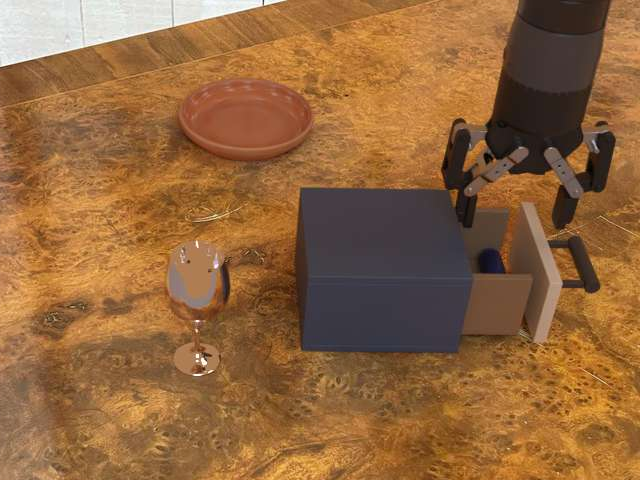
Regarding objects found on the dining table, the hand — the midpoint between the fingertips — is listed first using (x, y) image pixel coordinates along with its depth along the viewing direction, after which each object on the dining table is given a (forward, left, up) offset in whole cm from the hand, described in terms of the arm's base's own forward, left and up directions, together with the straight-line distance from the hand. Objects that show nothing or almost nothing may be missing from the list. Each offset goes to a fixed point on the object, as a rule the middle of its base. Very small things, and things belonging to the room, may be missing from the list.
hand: (511, 223), depth 98 cm
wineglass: (+29, +8, -10) cm, 32 cm away
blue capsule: (0, 0, -8) cm, 8 cm away
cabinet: (+12, 0, -10) cm, 16 cm away
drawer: (+1, 0, -9) cm, 9 cm away
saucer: (+24, -31, -10) cm, 40 cm away
